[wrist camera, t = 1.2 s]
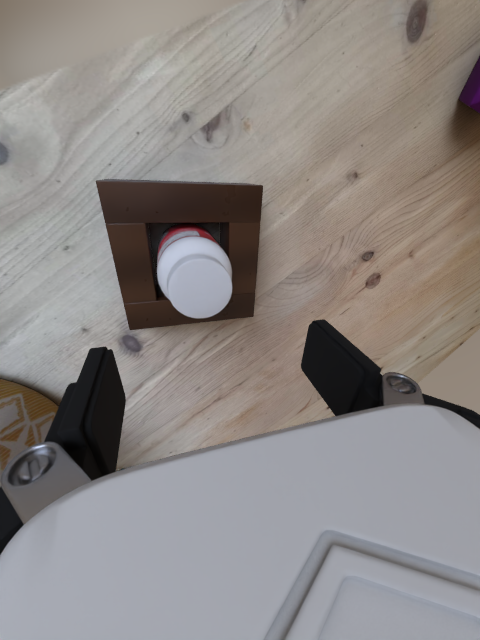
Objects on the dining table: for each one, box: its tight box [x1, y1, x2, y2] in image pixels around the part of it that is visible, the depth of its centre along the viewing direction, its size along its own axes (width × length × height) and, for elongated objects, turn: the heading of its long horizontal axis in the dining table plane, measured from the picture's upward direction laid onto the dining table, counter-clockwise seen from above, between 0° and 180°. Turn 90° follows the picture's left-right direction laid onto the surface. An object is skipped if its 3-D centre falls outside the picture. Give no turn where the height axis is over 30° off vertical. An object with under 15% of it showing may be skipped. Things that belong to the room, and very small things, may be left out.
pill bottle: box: [157, 223, 232, 318], centre depth 22 cm, size 6×6×11 cm
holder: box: [96, 179, 263, 330], centre depth 25 cm, size 13×13×4 cm
